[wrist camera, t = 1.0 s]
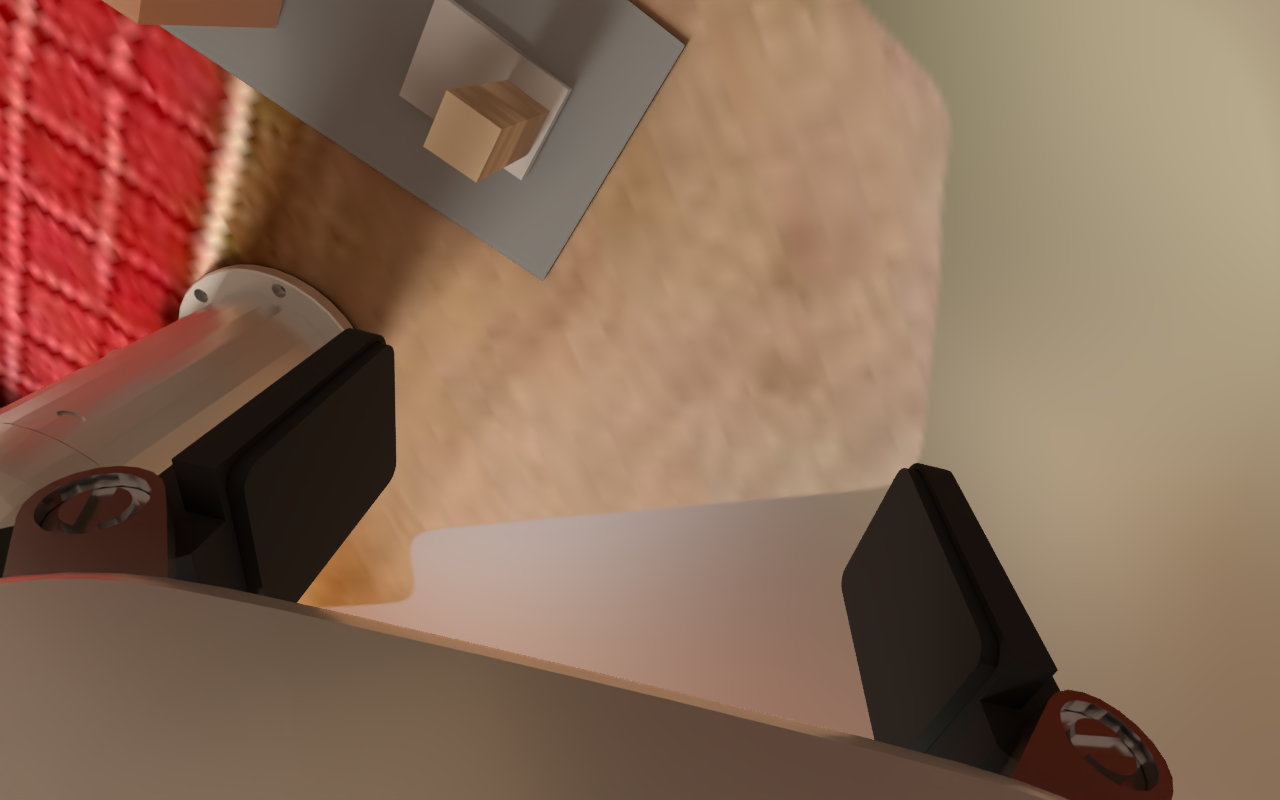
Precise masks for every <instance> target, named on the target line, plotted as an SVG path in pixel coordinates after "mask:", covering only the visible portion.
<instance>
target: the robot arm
mask: <svg viewBox="0 0 1280 800" xmlns="http://www.w3.org/2000/svg"><path fill="white" fill-rule="evenodd" d="M395 467H396V427H395V372H394V350H393V348H392V347H391V346H390V345H386V342H385V339H384V337H382V336H381V335H378V334H374V333H369V332H365V331H361V330H357V329H354V328H353V327H352V326H351V324H350V323H349V322H348V320H347V319H346V317H345V316H344V315H343V314H342V313H341V312H340V311H339V310H338V309H337V308H336V307H335V306H334V305H333V304H332V303H331V302H330V301H329V300H328V299H327V298H326V297H324V296H323V295H322V294H321V293H319V292H318V291H317V290H315V289H314V288H313V287H311V286H310V285H308V284H306V283H304V282H303V281H301V280H299V279H297V278H296V277H294V276H291V275H289V274H286V273H284V272H281V271H279V270H276V269H273V268H268V267H264V266H259V265H244V264H238V265H233V266H227V267H222V268H220V269H218V270H216V271H213V272H211V273H208V274H206V275H204V276H203V277H201V278H200V279H198V280H197V281H195V282H194V283H193V284H192V286H191V287H190V288H189V289H188V291H187V292H186V293H185V295H184V297H183V300H182V303H181V305H180V310H179V319H178V320H177V321H175V322H173V323H171V324H169V325H167V326H165V327H163V328H161V329H159V330H157V331H155V332H153V333H151V334H149V335H147V336H145V337H143V338H141V339H139V340H137V341H135V342H133V343H131V344H129V345H127V346H125V347H123V348H115V349H113V350H111V351H109V353H108V355H107V356H105V357H103V358H101V359H99V360H97V361H95V362H93V363H91V364H89V365H87V366H85V367H83V368H81V369H79V370H77V371H75V372H73V373H71V374H69V375H67V376H65V377H63V378H61V379H59V380H57V381H55V382H53V383H51V384H49V385H47V386H45V387H43V388H41V389H39V390H37V391H35V392H33V393H31V394H29V395H27V396H25V397H23V398H21V399H19V400H17V401H15V402H13V403H11V404H9V405H7V406H5V407H3V408H1V409H0V800H1172V796H1173V778H1172V775H1171V773H1170V770H1169V768H1168V765H1167V763H1166V761H1165V759H1164V758H1163V756H1162V755H1161V753H1160V752H1159V750H1158V749H1157V748H1156V746H1155V745H1154V743H1153V742H1152V741H1151V740H1150V739H1149V738H1148V737H1147V736H1146V734H1145V733H1144V732H1143V731H1142V730H1141V729H1140V728H1139V727H1138V726H1137V725H1136V724H1135V723H1134V722H1132V721H1131V720H1130V719H1129V718H1127V717H1126V716H1125V715H1124V714H1123V713H1121V712H1120V711H1119V710H1117V709H1115V708H1114V707H1112V706H1111V705H1109V704H1107V703H1106V702H1104V701H1102V700H1101V699H1099V698H1096V697H1094V696H1091V695H1089V694H1086V693H1084V692H1078V691H1073V690H1064V691H1060V690H1059V688H1058V686H1057V684H1056V682H1055V680H1054V678H1053V675H1054V674H1055V672H1056V671H1057V668H1056V666H1055V664H1054V662H1053V660H1052V658H1051V657H1050V655H1049V653H1048V651H1047V649H1046V647H1045V645H1044V644H1043V642H1042V640H1041V638H1040V636H1039V634H1038V632H1037V631H1036V629H1035V627H1034V625H1033V623H1032V621H1031V619H1030V617H1029V616H1028V614H1027V612H1026V610H1025V608H1024V606H1023V604H1022V603H1021V601H1020V599H1019V597H1018V595H1017V593H1016V591H1015V590H1014V588H1013V586H1012V584H1011V582H1010V580H1009V578H1008V576H1007V575H1006V573H1005V571H1004V569H1003V567H1002V565H1001V564H1000V561H999V560H998V558H997V556H996V554H995V552H994V550H993V548H992V547H991V545H990V543H989V541H988V539H987V537H986V535H985V534H984V532H983V530H982V528H981V526H980V524H979V522H978V521H977V519H976V517H975V515H974V513H973V511H972V509H971V508H970V506H969V504H968V502H967V500H966V498H965V496H964V494H963V493H962V491H961V489H960V487H959V485H958V483H957V482H956V479H955V478H954V476H953V474H952V473H951V472H950V471H948V470H945V469H941V468H937V467H932V466H928V465H924V464H920V463H915V464H913V465H912V466H911V467H910V468H909V469H906V468H903V469H901V470H900V471H899V472H898V473H897V475H896V477H895V479H894V480H893V482H892V484H891V486H890V488H889V490H888V491H887V493H886V495H885V497H884V499H883V501H882V503H881V504H880V506H879V508H878V510H877V511H876V513H875V515H874V517H873V519H872V521H871V522H870V524H869V526H868V528H867V530H866V532H865V533H864V535H863V537H862V539H861V540H860V542H859V544H858V546H857V548H856V550H855V551H854V553H853V555H852V557H851V559H850V561H849V562H848V564H847V566H846V568H845V570H844V572H843V576H842V593H843V597H844V602H845V606H846V611H847V615H848V620H849V625H850V629H851V634H852V639H853V643H854V648H855V652H856V656H857V661H858V666H859V671H860V675H861V680H862V684H863V689H864V694H865V698H866V703H867V707H868V712H869V717H870V721H871V726H872V730H873V735H874V740H872V739H868V738H864V737H860V736H856V735H852V734H848V733H844V732H840V731H836V730H831V729H827V728H824V727H820V726H815V725H811V724H807V723H803V722H799V721H795V720H791V719H787V718H782V717H779V716H774V715H770V714H766V713H762V712H758V711H754V710H750V709H746V708H741V707H738V706H734V705H729V704H725V703H721V702H717V701H713V700H709V699H705V698H701V697H696V696H692V695H688V694H684V693H680V692H676V691H671V690H667V689H663V688H659V687H655V686H651V685H646V684H642V683H638V682H634V681H630V680H625V679H621V678H617V677H613V676H609V675H605V674H600V673H596V672H592V671H587V670H584V669H579V668H575V667H571V666H567V665H562V664H558V663H554V662H550V661H546V660H541V659H537V658H533V657H529V656H525V655H520V654H516V653H512V652H507V651H503V650H499V649H495V648H491V647H486V646H482V645H478V644H473V643H469V642H465V641H460V640H456V639H452V638H447V637H443V636H439V635H435V634H430V633H426V632H422V631H418V630H413V629H409V628H404V627H400V626H396V625H392V624H387V623H383V622H379V621H374V620H370V619H365V618H361V617H357V616H353V615H348V614H344V613H340V612H335V611H331V610H327V609H322V608H317V607H313V606H308V605H303V604H299V603H297V602H298V600H299V599H300V598H301V596H302V595H303V594H304V593H305V591H306V590H307V589H308V587H309V586H310V585H311V583H312V582H313V581H314V580H315V578H316V577H317V576H318V574H319V573H320V572H321V570H322V569H323V568H324V567H325V565H326V564H327V563H328V561H329V560H330V559H331V557H332V556H333V555H334V554H335V552H336V551H337V550H338V548H339V547H340V546H341V544H342V543H343V542H344V541H345V539H346V538H347V537H348V535H349V534H350V533H351V531H352V530H353V529H354V528H355V526H356V525H357V524H358V522H359V521H360V520H361V518H362V517H363V516H364V515H365V513H366V512H367V511H368V509H369V508H370V507H371V506H372V504H373V503H374V502H375V500H376V499H377V498H378V496H379V495H380V494H381V493H382V491H383V490H384V489H385V487H386V486H387V485H388V483H389V482H390V480H391V479H392V477H393V474H394V471H395Z"/></svg>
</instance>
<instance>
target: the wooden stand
mask: <svg viewBox="0 0 1280 800" xmlns="http://www.w3.org/2000/svg"><path fill="white" fill-rule="evenodd" d="M571 91H572V88H570V87H569V86H568V85H566V84H565V83H564V82H562V81H561V80H560V79H558V78H557V77H556V76H554V75H553V74H552V73H550V72H549V71H548V70H546V69H545V68H544V67H542V66H541V65H540V64H538V63H537V62H536V61H534V60H533V59H531V58H530V57H529V56H527V55H526V54H525V53H523V52H522V51H521V50H519V49H518V48H517V47H515V46H514V45H513V44H511V43H510V42H509V41H507V40H506V39H505V38H503V37H502V36H501V35H499V34H498V33H497V32H495V31H494V30H493V29H491V28H490V27H489V26H487V25H486V24H484V23H483V22H482V21H480V20H479V19H478V18H476V17H475V16H474V15H472V14H471V13H470V12H468V11H467V10H466V9H464V8H463V7H462V6H460V5H459V4H458V3H456V2H455V1H454V0H435V1H434V3H433V6H432V9H431V11H430V14H429V17H428V19H427V22H426V25H425V27H424V30H423V33H422V35H421V38H420V41H419V43H418V46H417V49H416V51H415V54H414V57H413V59H412V62H411V65H410V67H409V70H408V73H407V75H406V78H405V81H404V83H403V86H402V89H401V91H400V94H399V96H401V97H402V98H404V99H405V100H407V101H408V102H409V103H411V104H412V105H414V106H415V107H417V108H418V109H420V110H421V111H422V112H424V113H425V114H427V115H428V116H430V117H431V118H432V119H434V122H433V124H432V126H431V129H430V131H429V134H428V136H427V138H426V141H425V143H424V146H423V147H425V148H426V149H428V150H429V151H431V152H432V153H434V154H435V155H437V156H438V157H439V158H441V159H442V160H444V161H445V162H447V163H448V164H450V165H451V166H453V167H454V168H455V169H457V170H458V171H460V172H461V173H463V174H464V175H466V176H467V177H469V178H470V179H472V180H473V181H474V182H476V183H477V182H478V181H480V180H482V179H484V178H486V177H488V176H489V175H491V174H493V173H495V172H497V171H499V170H501V169H502V168H504V169H505V170H507V171H508V172H510V173H511V174H513V175H514V176H516V177H517V178H518V179H520V180H523V179H524V178H526V176H527V174H528V172H529V171H530V169H531V167H532V165H533V163H534V161H535V159H536V157H537V155H538V154H539V152H540V150H541V148H542V146H543V144H544V142H545V140H546V138H547V136H548V135H549V133H550V131H551V129H552V127H553V125H554V123H555V121H556V119H557V117H558V116H559V114H560V112H561V110H562V108H563V106H564V104H565V102H566V100H567V99H568V97H569V95H570V93H571Z"/></svg>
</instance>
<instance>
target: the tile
mask: <svg viewBox="0 0 1280 800" xmlns="http://www.w3.org/2000/svg"><path fill="white" fill-rule="evenodd" d="M102 1H104V2H105V3H107V4H108V5H110V6H111V7H113V8H114V9H116V10H117V11H119V12H120V13H122V14H123V15H125V16H126V17H128V18H129V19H131V20H132V21H134V22H135V23H137V24H151V25H186V26H220V27H254V28H276V27H277V23H278V19H279V15H280V11H281V7H282V3H283V0H102Z"/></svg>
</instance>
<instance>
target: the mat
mask: <svg viewBox="0 0 1280 800" xmlns="http://www.w3.org/2000/svg"><path fill="white" fill-rule="evenodd" d="M434 1H435V0H283V3H282V7H281V11H280V15H279V19H278V23H277V27H276V28H254V27H220V26H186V25H159V26H161V27H162V28H164V29H165V30H167V31H168V32H170V33H171V34H173V35H174V36H176V37H177V38H179V39H180V40H182V41H183V42H185V43H186V44H188V45H189V46H191V47H192V48H194V49H195V50H197V51H198V52H200V53H201V54H203V55H204V56H206V57H207V58H209V59H210V60H212V61H213V62H215V63H216V64H218V65H219V66H221V67H222V68H224V69H225V70H227V71H228V72H230V73H231V74H233V75H234V76H236V77H237V78H239V79H240V80H242V81H243V82H245V83H246V84H248V85H249V86H251V87H252V88H254V89H255V90H257V91H258V92H260V93H261V94H263V95H264V96H266V97H267V98H269V99H270V100H272V101H273V102H275V103H276V104H278V105H279V106H281V107H282V108H284V109H285V110H287V111H288V112H290V113H291V114H293V115H294V116H296V117H297V118H299V119H300V120H302V121H303V122H305V123H306V124H308V125H309V126H311V127H312V128H314V129H315V130H317V131H318V132H320V133H321V134H323V135H324V136H326V137H327V138H329V139H330V140H332V141H333V142H335V143H336V144H338V145H339V146H341V147H342V148H344V149H345V150H347V151H348V152H350V153H351V154H353V155H354V156H356V157H357V158H359V159H360V160H362V161H363V162H365V163H366V164H368V165H369V166H371V167H372V168H374V169H375V170H377V171H378V172H380V173H381V174H383V175H384V176H386V177H387V178H389V179H390V180H392V181H393V182H395V183H396V184H398V185H399V186H401V187H402V188H404V189H405V190H407V191H408V192H410V193H411V194H413V195H414V196H416V197H417V198H419V199H420V200H422V201H423V202H425V203H426V204H428V205H429V206H431V207H432V208H434V209H435V210H437V211H438V212H440V213H441V214H443V215H444V216H446V217H447V218H449V219H450V220H452V221H453V222H455V223H456V224H458V225H459V226H461V227H462V228H464V229H465V230H467V231H468V232H470V233H471V234H473V235H474V236H476V237H477V238H479V239H480V240H482V241H483V242H485V243H486V244H488V245H489V246H491V247H492V248H494V249H495V250H497V251H498V252H500V253H501V254H503V255H504V256H506V257H507V258H509V259H510V260H512V261H513V262H515V263H516V264H518V265H519V266H521V267H522V268H524V269H525V270H527V271H528V272H530V273H531V274H533V275H534V276H536V277H537V278H539V279H540V280H542V281H543V280H544V279H545V277H546V275H547V274H548V272H549V270H550V269H551V267H552V265H553V264H554V262H555V260H556V259H557V257H558V255H559V254H560V252H561V250H562V249H563V247H564V245H565V244H566V242H567V241H568V239H569V237H570V236H571V234H572V232H573V231H574V229H575V227H576V226H577V224H578V222H579V221H580V219H581V217H582V216H583V214H584V212H585V211H586V209H587V207H588V206H589V204H590V202H591V201H592V199H593V197H594V196H595V194H596V193H597V191H598V189H599V188H600V186H601V184H602V183H603V181H604V179H605V178H606V176H607V174H608V173H609V171H610V169H611V168H612V166H613V164H614V163H615V161H616V159H617V158H618V156H619V154H620V153H621V151H622V150H623V148H624V146H625V145H626V143H627V141H628V140H629V138H630V136H631V135H632V133H633V131H634V130H635V128H636V126H637V125H638V123H639V121H640V120H641V118H642V116H643V115H644V113H645V111H646V110H647V108H648V106H649V105H650V103H651V102H652V100H653V98H654V97H655V95H656V93H657V92H658V90H659V88H660V87H661V85H662V83H663V82H664V80H665V78H666V77H667V75H668V73H669V72H670V70H671V68H672V67H673V65H674V63H675V62H676V60H677V58H678V57H679V55H680V54H681V52H682V50H683V49H684V47H685V45H684V44H683V43H682V42H681V41H679V40H678V39H677V38H676V37H674V36H673V35H672V34H671V33H669V32H668V31H667V30H665V29H664V28H663V27H662V26H660V25H659V24H658V23H657V22H655V21H654V20H653V19H652V18H650V17H649V16H648V15H647V14H645V13H644V12H643V11H642V10H640V9H639V8H638V7H637V6H635V5H634V4H633V3H631V2H630V1H629V0H454V1H455V2H456V3H458V4H459V5H460V6H462V7H463V8H464V9H466V10H467V11H468V12H470V13H471V14H472V15H474V16H475V17H476V18H478V19H479V20H480V21H482V22H483V23H484V24H486V25H487V26H489V27H490V28H491V29H493V30H494V31H495V32H497V33H498V34H499V35H501V36H502V37H503V38H505V39H506V40H507V41H509V42H510V43H511V44H513V45H514V46H515V47H517V48H518V49H519V50H521V51H522V52H523V53H525V54H526V55H527V56H529V57H530V58H531V59H533V60H534V61H536V62H537V63H538V64H540V65H541V66H542V67H544V68H545V69H546V70H548V71H549V72H550V73H552V74H553V75H554V76H556V77H557V78H558V79H560V80H561V81H562V82H564V83H565V84H566V85H568V86H569V87H570V88H572V91H571V93H570V95H569V97H568V99H567V100H566V102H565V104H564V106H563V108H562V110H561V112H560V114H559V116H558V117H557V119H556V121H555V123H554V125H553V127H552V129H551V131H550V133H549V135H548V136H547V138H546V140H545V142H544V144H543V146H542V148H541V150H540V152H539V154H538V155H537V157H536V159H535V161H534V163H533V165H532V167H531V169H530V171H529V172H528V174H527V176H526V178H524V179H523V180H520V179H518V178H517V177H516V176H514V175H513V174H511V173H510V172H508V171H507V170H505V169H504V168H502V169H501V170H499V171H497V172H495V173H493V174H491V175H489V176H488V177H486V178H484V179H482V180H480V181H478V182H477V183H476V182H474V181H473V180H472V179H470V178H469V177H467V176H466V175H464V174H463V173H461V172H460V171H458V170H457V169H455V168H454V167H453V166H451V165H450V164H448V163H447V162H445V161H444V160H442V159H441V158H439V157H438V156H437V155H435V154H434V153H432V152H431V151H429V150H428V149H426V148H425V147H423V146H424V143H425V141H426V138H427V136H428V134H429V131H430V129H431V126H432V124H433V122H434V119H432V118H431V117H430V116H428V115H427V114H425V113H424V112H422V111H421V110H420V109H418V108H417V107H415V106H414V105H412V104H411V103H409V102H408V101H407V100H405V99H404V98H402V97H401V96H399V94H400V91H401V89H402V86H403V83H404V81H405V78H406V75H407V73H408V70H409V67H410V65H411V62H412V59H413V57H414V54H415V51H416V49H417V46H418V43H419V41H420V38H421V35H422V33H423V30H424V27H425V25H426V22H427V19H428V17H429V14H430V11H431V9H432V6H433V3H434Z"/></svg>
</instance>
